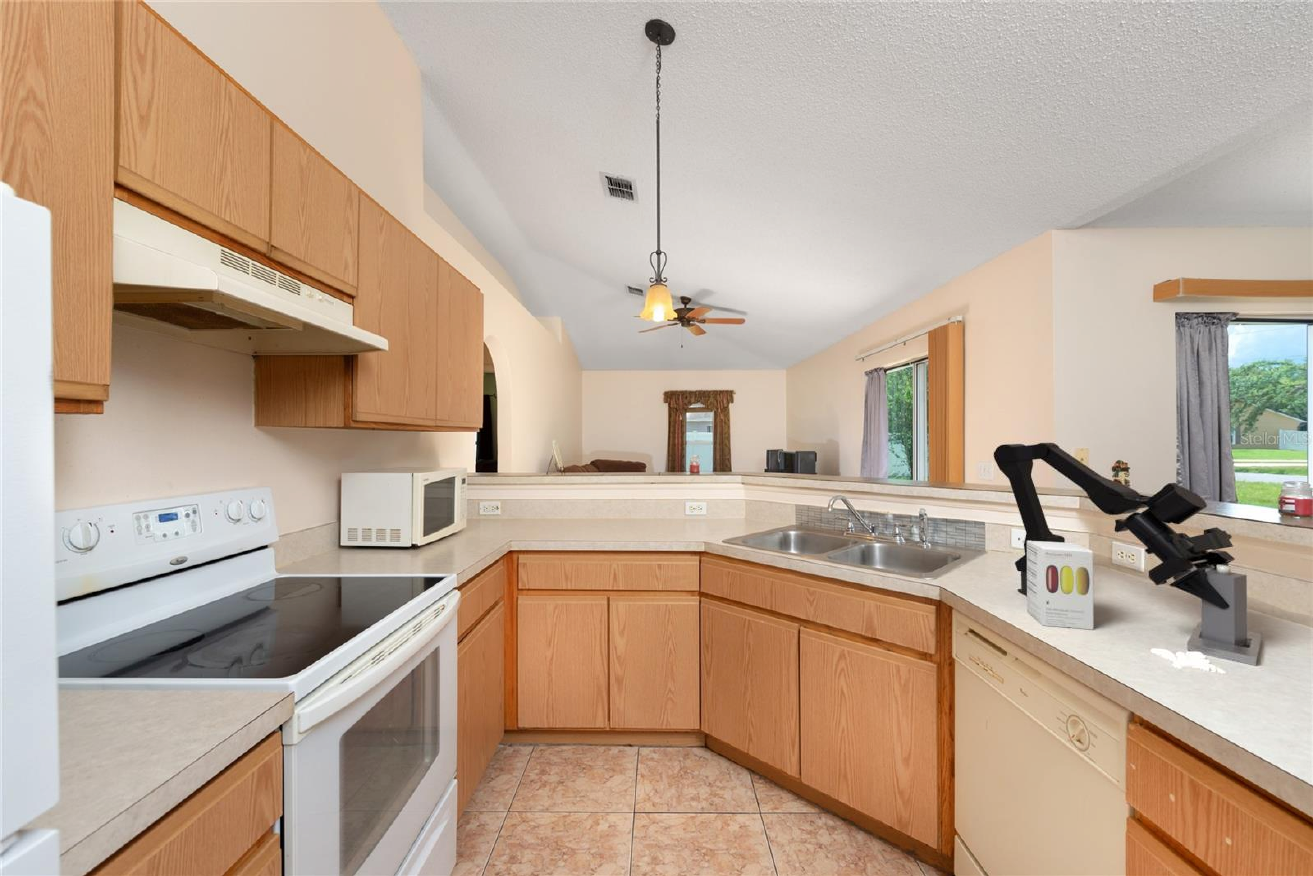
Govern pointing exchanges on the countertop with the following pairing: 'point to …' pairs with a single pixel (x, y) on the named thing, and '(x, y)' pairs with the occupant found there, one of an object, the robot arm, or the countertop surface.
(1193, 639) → the socket plate
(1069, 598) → the supplement box
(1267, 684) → the countertop surface
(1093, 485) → the robot arm
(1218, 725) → the countertop surface
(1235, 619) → the plug
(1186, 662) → the acanthus leaf ornament
